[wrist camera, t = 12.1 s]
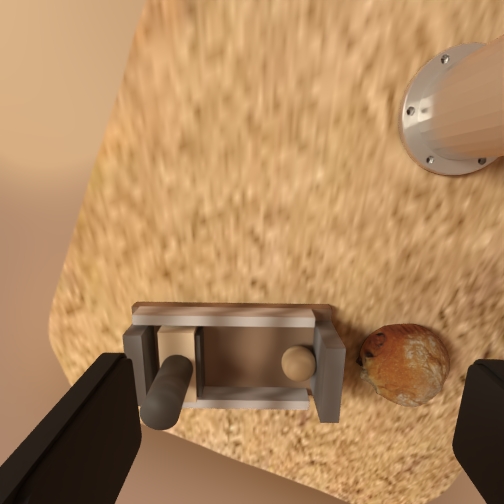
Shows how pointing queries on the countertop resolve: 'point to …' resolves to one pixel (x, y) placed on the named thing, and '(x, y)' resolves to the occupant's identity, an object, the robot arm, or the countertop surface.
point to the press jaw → (175, 375)
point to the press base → (248, 354)
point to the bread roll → (404, 363)
